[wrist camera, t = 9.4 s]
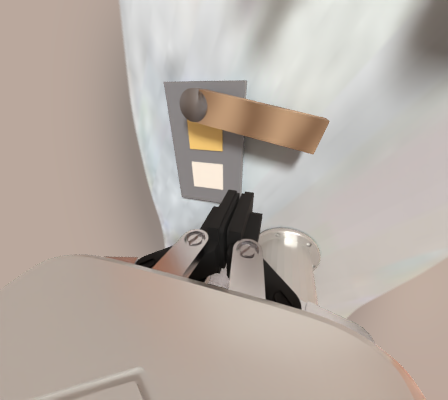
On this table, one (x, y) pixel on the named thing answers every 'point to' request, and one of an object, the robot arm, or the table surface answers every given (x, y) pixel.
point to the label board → (205, 146)
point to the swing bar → (253, 119)
